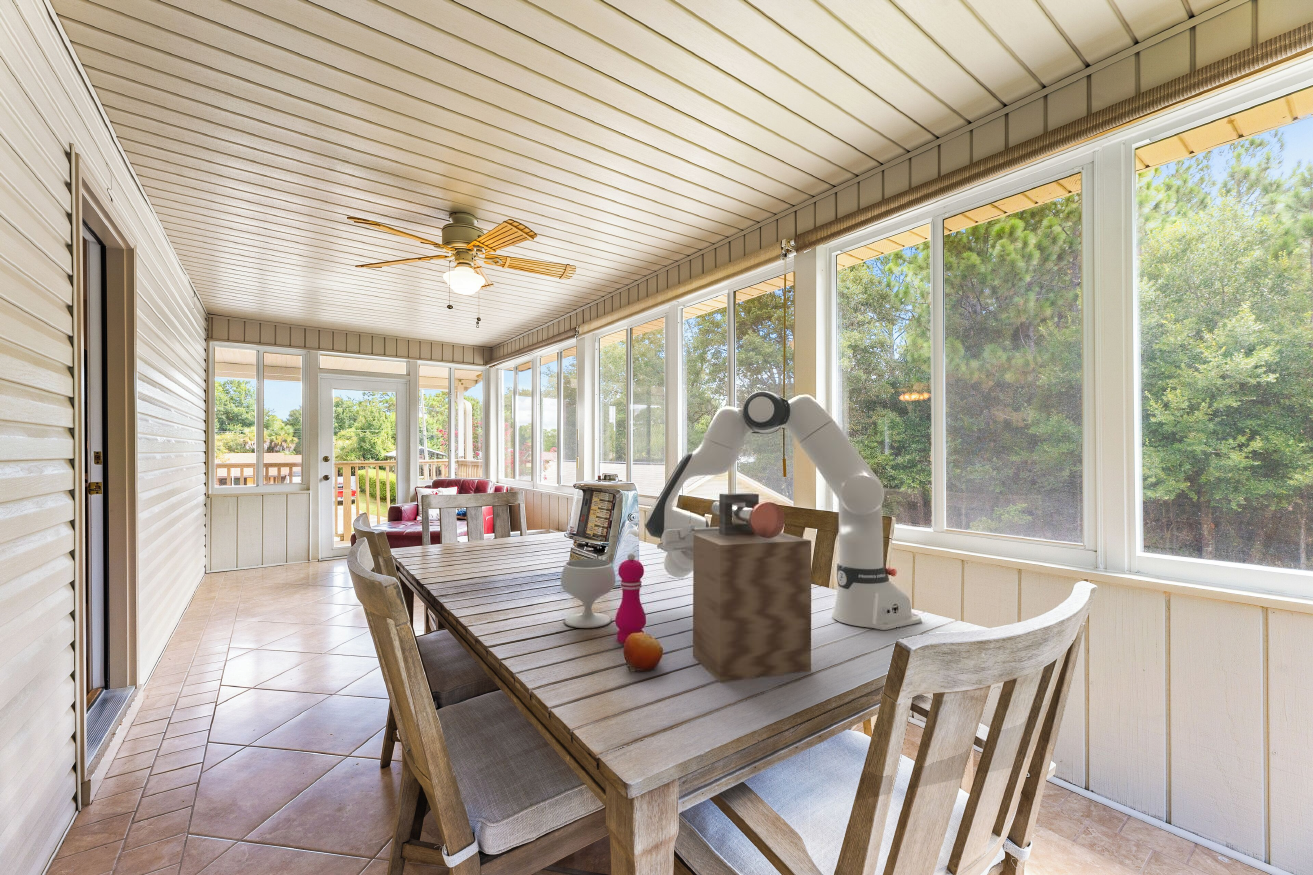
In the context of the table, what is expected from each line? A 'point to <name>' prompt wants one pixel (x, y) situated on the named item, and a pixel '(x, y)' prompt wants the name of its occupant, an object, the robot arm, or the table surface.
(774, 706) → the table surface
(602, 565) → the chalice
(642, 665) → the fruit
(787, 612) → the walnut post
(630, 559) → the pepper mill
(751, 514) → the steel pin
